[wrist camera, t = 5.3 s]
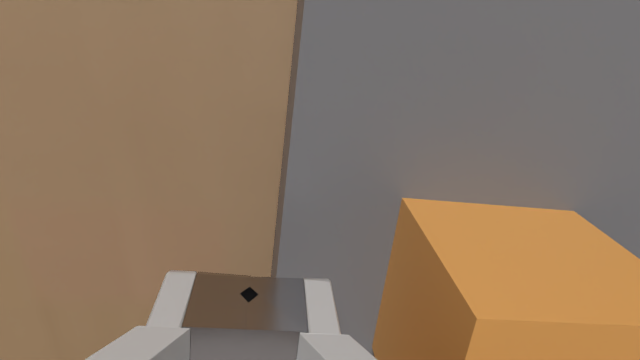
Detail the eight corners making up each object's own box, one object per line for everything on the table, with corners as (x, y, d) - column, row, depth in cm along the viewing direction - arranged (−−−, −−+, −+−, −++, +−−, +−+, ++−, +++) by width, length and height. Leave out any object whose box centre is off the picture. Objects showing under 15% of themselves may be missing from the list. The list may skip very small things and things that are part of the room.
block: (574, 211, 10) (736, 330, 7) (524, 352, 12) (636, 513, 8) (401, 197, 10) (476, 318, 6) (371, 346, 11) (418, 516, 8)
